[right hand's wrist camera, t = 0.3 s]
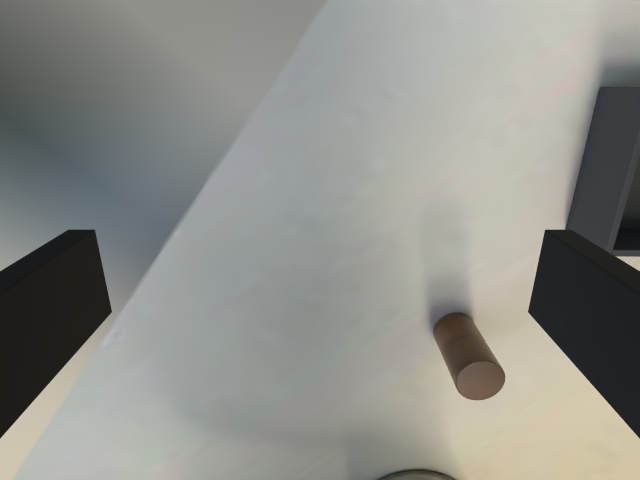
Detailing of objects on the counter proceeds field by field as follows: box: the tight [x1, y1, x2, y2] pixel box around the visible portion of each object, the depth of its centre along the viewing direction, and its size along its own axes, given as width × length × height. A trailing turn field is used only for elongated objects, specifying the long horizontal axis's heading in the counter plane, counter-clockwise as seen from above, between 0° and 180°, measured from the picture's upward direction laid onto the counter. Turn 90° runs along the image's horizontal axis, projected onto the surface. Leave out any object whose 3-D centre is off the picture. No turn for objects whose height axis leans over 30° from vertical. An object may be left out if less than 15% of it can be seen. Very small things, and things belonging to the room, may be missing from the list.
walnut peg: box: [434, 313, 505, 400], centre depth 41 cm, size 4×4×8 cm
